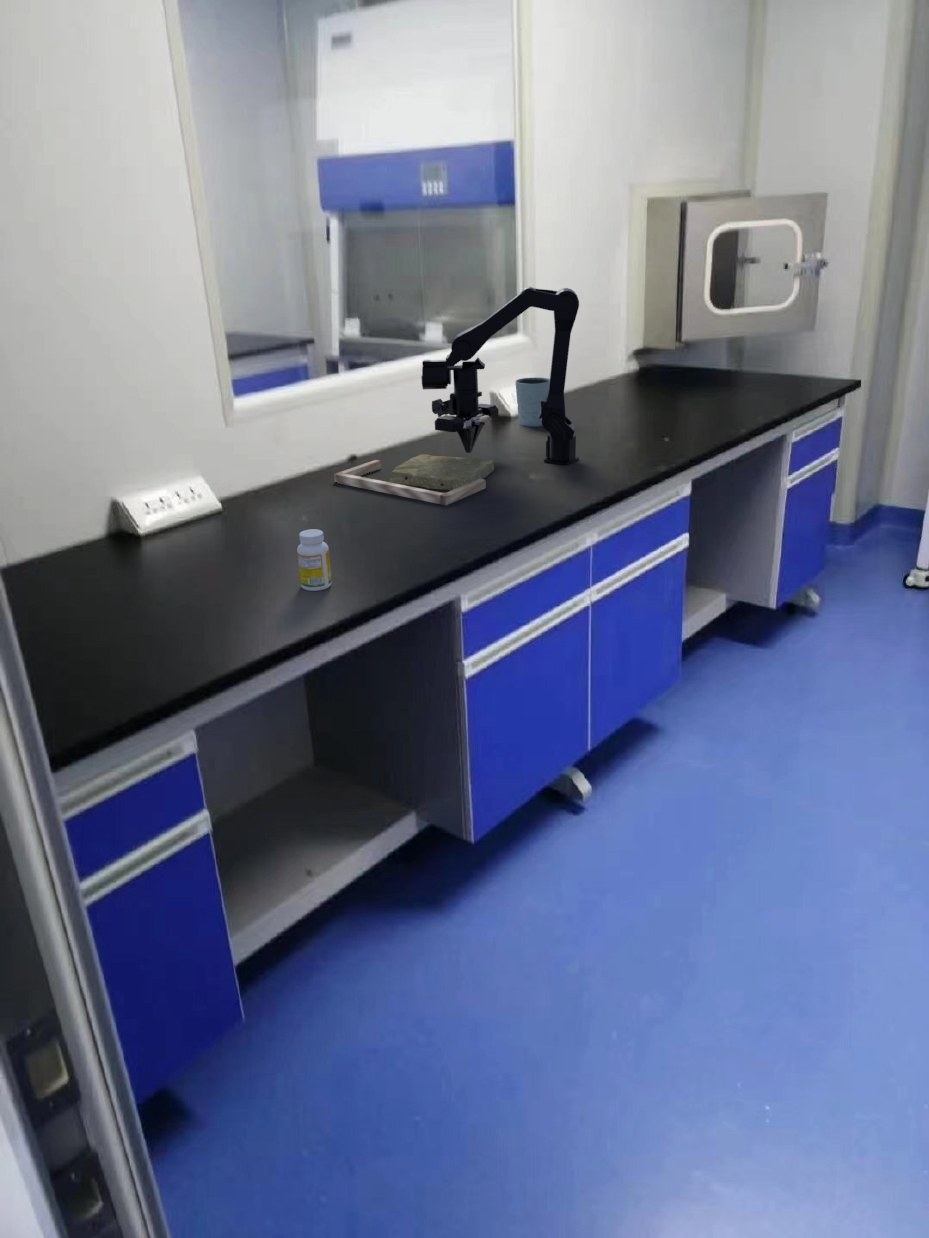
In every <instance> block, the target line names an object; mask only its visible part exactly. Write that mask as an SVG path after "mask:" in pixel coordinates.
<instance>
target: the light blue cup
mask: <svg viewBox="0 0 929 1238" xmlns="http://www.w3.org/2000/svg"><path fill="white" fill-rule="evenodd" d="M549 382H550V378H548V377H523V378H519V379H518V378H517V379H515V390H516V391H515V392H516V393H515V394H516V404H517V414H518V415H517V416H518V424H519V425H520V426H522V427H529V428H530V427H533V428H536V427H537V428H538V427H543V426H542V419H539V410H540V408H541V396H542V397H546V396H547V393H548V390H549Z"/></svg>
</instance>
